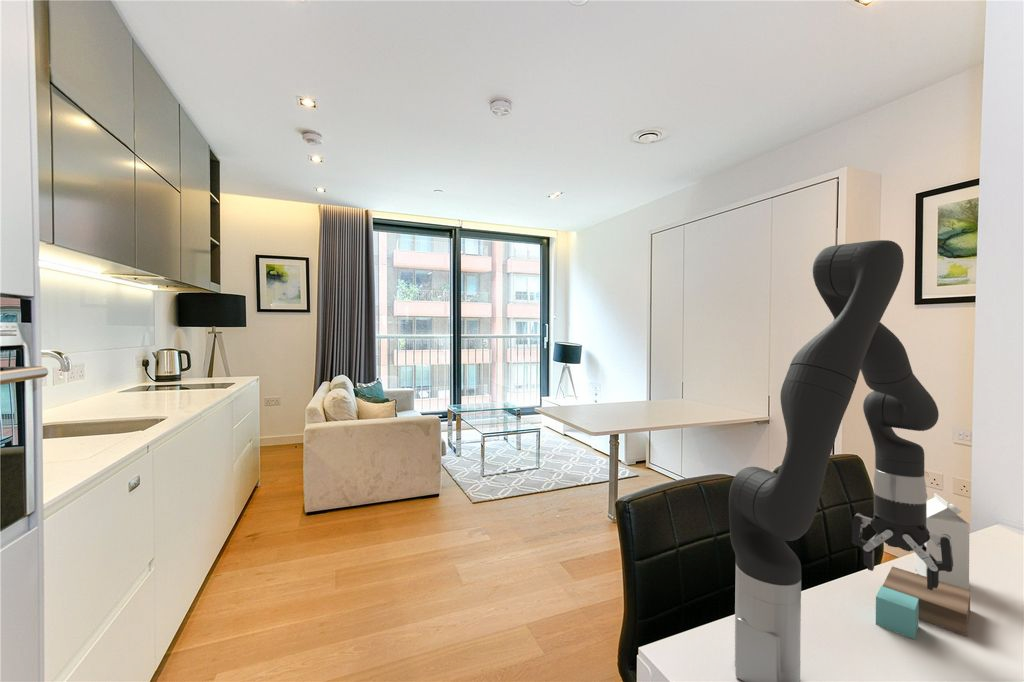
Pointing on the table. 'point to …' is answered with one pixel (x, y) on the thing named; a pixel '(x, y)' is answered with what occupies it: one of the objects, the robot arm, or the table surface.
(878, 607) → the teal cube
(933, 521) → the milk carton
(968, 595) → the walnut base
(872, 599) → the table surface
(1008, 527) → the table surface
